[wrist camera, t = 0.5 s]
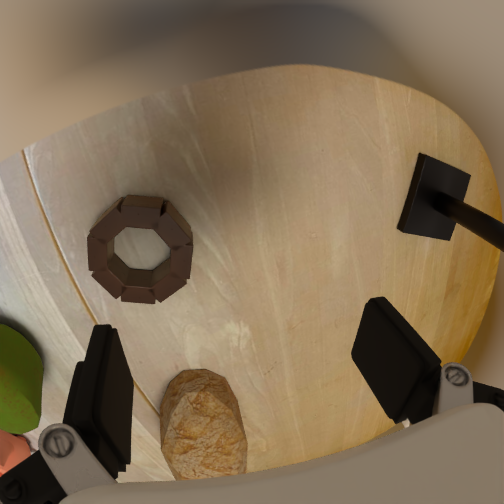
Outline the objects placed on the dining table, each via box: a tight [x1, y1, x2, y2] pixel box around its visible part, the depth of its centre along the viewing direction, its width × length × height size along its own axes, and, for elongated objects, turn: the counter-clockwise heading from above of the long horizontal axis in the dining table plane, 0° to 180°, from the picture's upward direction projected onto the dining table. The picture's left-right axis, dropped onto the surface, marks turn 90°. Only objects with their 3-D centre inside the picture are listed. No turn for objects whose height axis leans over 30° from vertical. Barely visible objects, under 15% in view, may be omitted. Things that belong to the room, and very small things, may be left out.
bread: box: [160, 369, 248, 481], centre depth 39 cm, size 36×11×10 cm, turn 178°
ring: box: [87, 195, 193, 304], centre depth 26 cm, size 9×9×3 cm
